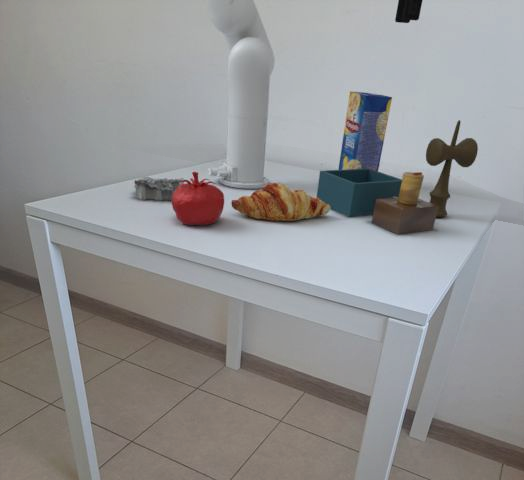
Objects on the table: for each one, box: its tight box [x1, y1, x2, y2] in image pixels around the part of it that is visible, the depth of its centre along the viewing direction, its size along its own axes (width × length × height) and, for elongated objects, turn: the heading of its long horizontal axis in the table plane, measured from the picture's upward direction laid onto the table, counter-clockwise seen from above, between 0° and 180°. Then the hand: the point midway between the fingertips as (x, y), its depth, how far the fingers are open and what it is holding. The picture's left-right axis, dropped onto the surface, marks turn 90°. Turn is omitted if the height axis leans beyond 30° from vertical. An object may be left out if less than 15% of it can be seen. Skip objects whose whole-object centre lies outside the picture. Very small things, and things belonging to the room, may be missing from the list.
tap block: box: [371, 196, 439, 235], centre depth 101 cm, size 10×8×5 cm
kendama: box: [425, 119, 479, 218], centre depth 106 cm, size 6×10×20 cm, turn 109°
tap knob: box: [398, 171, 425, 205], centre depth 98 cm, size 4×4×6 cm
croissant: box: [230, 182, 331, 222], centre depth 100 cm, size 21×10×8 cm, turn 103°
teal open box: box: [316, 168, 402, 218], centre depth 111 cm, size 15×13×7 cm
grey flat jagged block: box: [134, 176, 185, 201], centre depth 107 cm, size 11×8×4 cm
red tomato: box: [171, 171, 225, 226], centre depth 92 cm, size 10×10×9 cm
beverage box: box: [337, 91, 393, 172], centre depth 126 cm, size 7×11×22 cm, turn 11°
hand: (406, 21), depth 103 cm, fingers open, 9 cm apart
